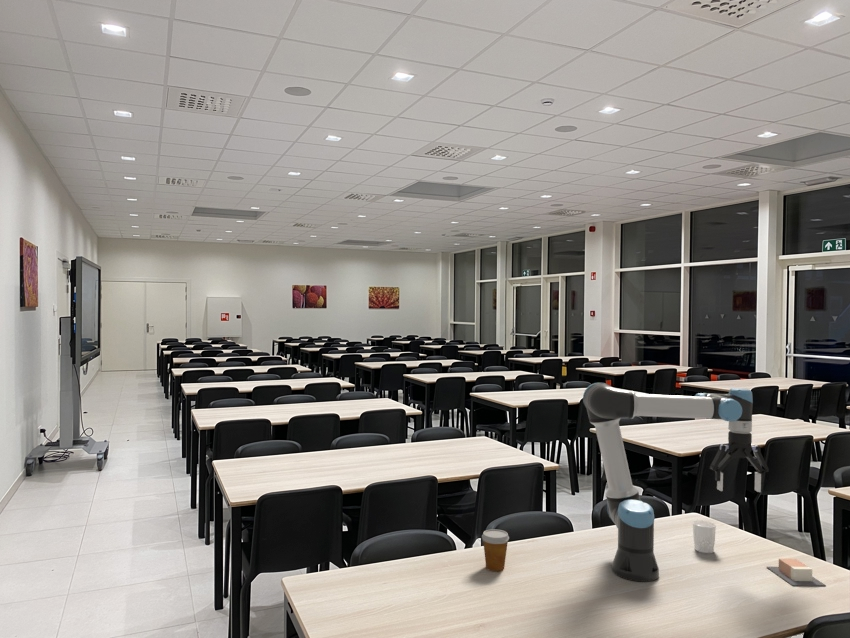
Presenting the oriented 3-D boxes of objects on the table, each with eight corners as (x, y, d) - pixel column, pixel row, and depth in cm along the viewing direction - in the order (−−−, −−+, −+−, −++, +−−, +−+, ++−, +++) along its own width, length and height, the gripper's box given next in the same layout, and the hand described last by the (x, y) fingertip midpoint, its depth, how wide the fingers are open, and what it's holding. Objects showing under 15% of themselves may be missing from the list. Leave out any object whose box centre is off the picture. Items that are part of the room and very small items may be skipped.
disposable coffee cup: (508, 563, 217) (508, 529, 217) (509, 574, 208) (509, 538, 208) (481, 561, 218) (481, 528, 218) (481, 572, 208) (481, 537, 209)
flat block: (778, 570, 213) (778, 558, 213) (795, 570, 213) (795, 558, 213) (794, 581, 204) (794, 569, 204) (812, 581, 204) (812, 569, 204)
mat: (792, 585, 201) (792, 584, 201) (766, 567, 216) (766, 566, 216) (825, 586, 201) (825, 585, 201) (797, 568, 216) (797, 566, 216)
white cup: (719, 554, 228) (719, 527, 228) (698, 553, 228) (698, 527, 228) (709, 546, 236) (710, 520, 236) (689, 546, 236) (689, 520, 236)
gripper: (710, 432, 216) (708, 492, 216) (780, 434, 216) (779, 494, 216) (700, 429, 224) (699, 486, 224) (768, 430, 224) (767, 488, 224)
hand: (738, 490), depth 220 cm, fingers open, 13 cm apart
